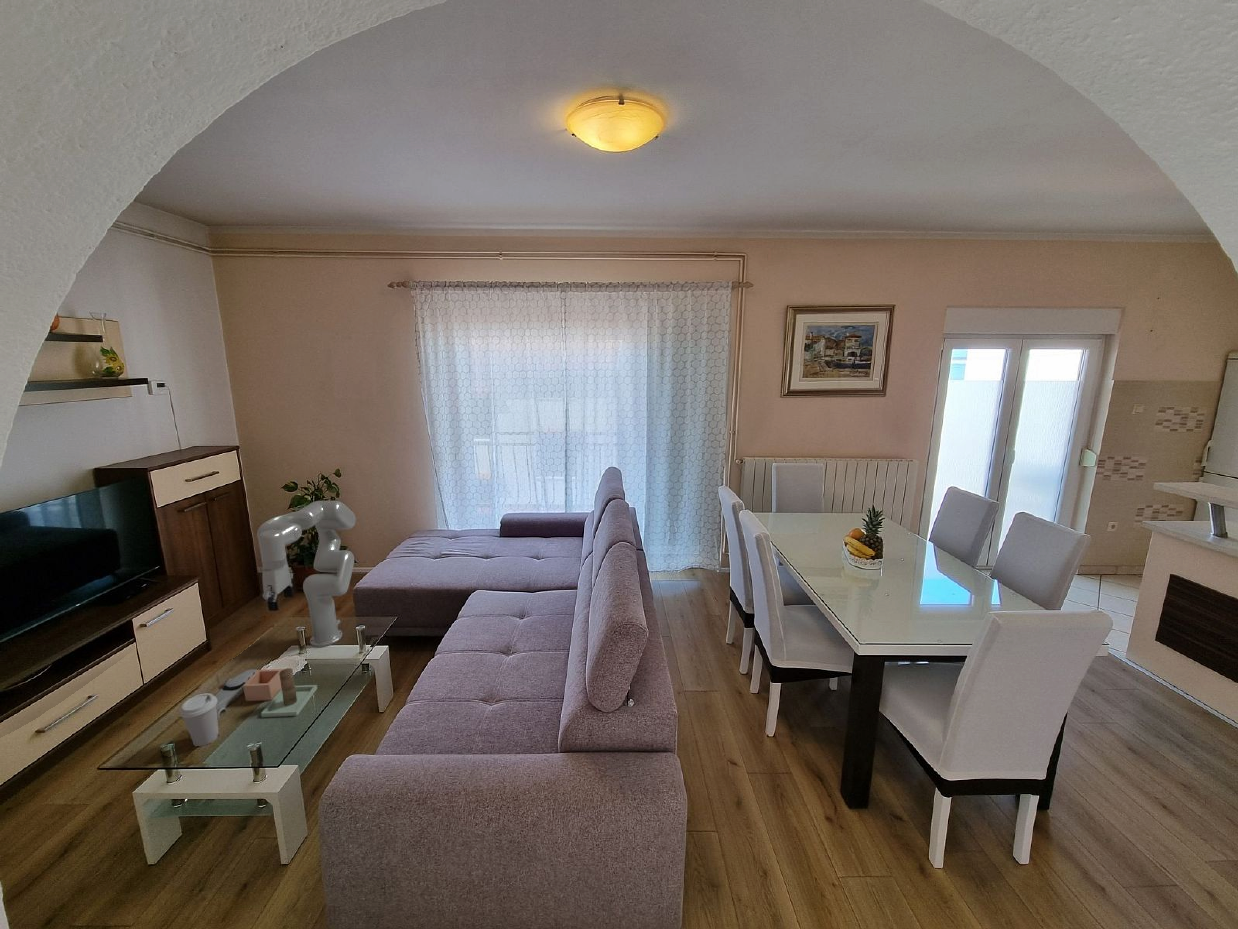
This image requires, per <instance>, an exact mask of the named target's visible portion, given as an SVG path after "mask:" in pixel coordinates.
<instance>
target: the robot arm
mask: <svg viewBox="0 0 1238 929" xmlns="http://www.w3.org/2000/svg"><path fill="white" fill-rule="evenodd" d="M356 521H357V518H356V515H355V513H354V511H352V510H351V509H350V508H349V507H348V506H347V505H346V504H344V503H343V502H342V501H340V500H316V501H313V502H311V503H309V504H308V505H305V506H304V507H302V508H301V509H299V510H297V511H293V512H289V513H286V514H282V515H278V516H274V517H272V518H270V519H268V520H267V521H265V522H263V523H262V524H261V525H260V526H259V527H258V529H257V532H256V537H257V540H258V546H259V551H260V558H261V564H262V578H261V580H262V587H263V588H262V589H263V594H262V598H263V600H264V601H265V602H266V603H267V607H268V611H270V612H272V611H273V612H275V611H276V612H277V611H278V610H280V609H279V602H278V600H277V597H278V595H279V594H280V593H281V592H283V596H284V598H293V597H294V590H293V586H294V584H293V582H294V579H293V578H294V573H293V572H291V571H290V567H289V564H288V556H287V554H286V553H287V552H286V546H288V545H290V544H292V543H295V542H297V541H298V540H300V538H301V536H302V534H303V531H306V530H309V529H311V528H312V527H314V526H315V529H316V532H317V533H318V537H319V541H318V545H317V550H316V553H315V557H314V560H313V569H314V570H315V571H317V572H320V573H316V574H311V575H309V576H308V577H306V578H305V580H304V581H303V584H302V585H303V586H302V588H303V592H304V595H305V597H306V599H307V604H308V609H309V616H310V617H309V618H310V625H311V630H312V636H311V637H310V639H309V644H310V645H311V646H312V647H314V648H315V647H316V648H322V647H327V646H331V645H334V644H335V643H337V642H338V641H340V640H341V639H342V638H343V631H342V630H341V629H339V628H338V627H339V624H340V623H341V620H340V619H337V615H336V607H335V606H336V605H335V601H334V598H333V597H341V596H343V595H345V594H346V593H347V592H348V590H349V587H350V583H351V578H352V574H353V570H354V565H355V556H354V554H353V552H352V551H350V550H344V549H342V550H340V547H341V543H342V541H341V538H340V536H339V534H338V533H337V531H338V530H343V531H345V530H351V529H352V528H354V527H355V526H356ZM335 530H336V531H335ZM272 596H273V597H272Z"/></svg>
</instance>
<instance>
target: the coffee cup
mask: <svg viewBox="0 0 1238 929" xmlns="http://www.w3.org/2000/svg"><path fill="white" fill-rule="evenodd" d="M217 702H218V700H217V698H216V697H215V695H213V694H212V693H209V692H207V693H206V692H205V693H201V694H197V695H194V696H193V697H190V698H188V699H186V701H185V702H184V703H183V704H182V705H181V708H180V710H179V716H180V718H181V717H182V718H183V720H184V723H185V726H186V728H187V730H188V733H189V735H190V738H191V741H192V743H193V746H195V747H197V746H201V747H204V746H208V745H210V744H212V743H214V741H216V740H217V738H218V737H219V734H220V733H219V722H218V718H217V709H216V704H217ZM209 743H210V744H209ZM207 744H208V745H207Z"/></svg>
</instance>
